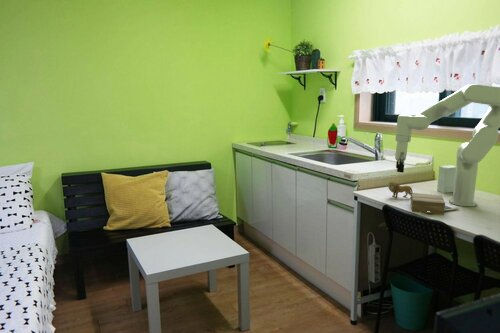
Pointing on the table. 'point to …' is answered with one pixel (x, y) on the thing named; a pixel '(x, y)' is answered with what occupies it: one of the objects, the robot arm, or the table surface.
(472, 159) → the robot arm
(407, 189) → the lion figurine
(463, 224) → the table surface
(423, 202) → the walnut box
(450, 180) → the skincare box
